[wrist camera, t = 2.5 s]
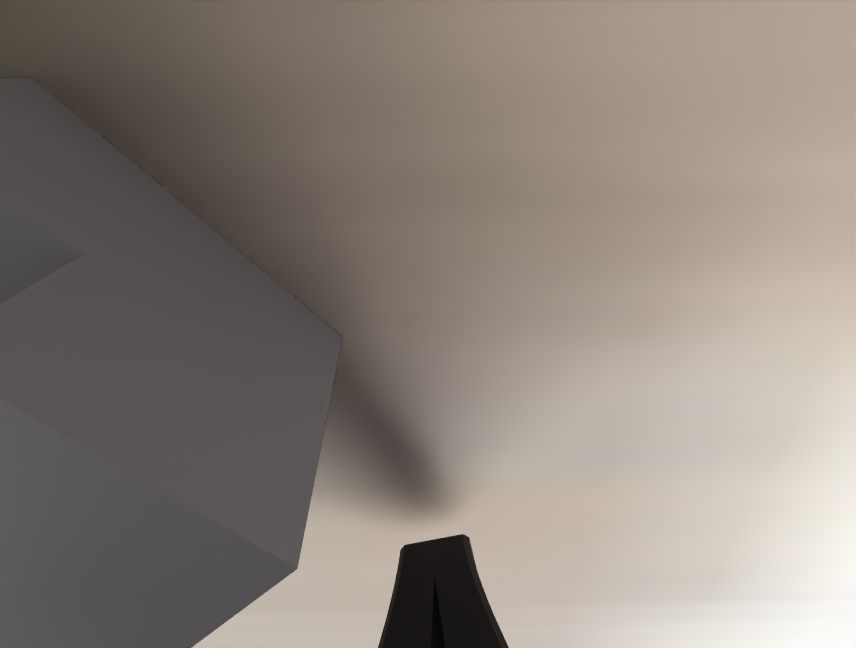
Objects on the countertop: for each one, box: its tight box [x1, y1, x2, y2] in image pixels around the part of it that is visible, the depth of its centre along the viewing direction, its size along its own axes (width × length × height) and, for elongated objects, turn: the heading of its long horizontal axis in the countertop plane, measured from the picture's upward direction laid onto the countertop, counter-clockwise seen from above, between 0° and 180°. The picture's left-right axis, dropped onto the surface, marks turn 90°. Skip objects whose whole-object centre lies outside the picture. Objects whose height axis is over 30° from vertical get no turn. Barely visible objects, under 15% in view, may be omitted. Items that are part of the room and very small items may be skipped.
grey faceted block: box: [0, 77, 342, 648], centre depth 7 cm, size 4×6×5 cm, turn 43°
